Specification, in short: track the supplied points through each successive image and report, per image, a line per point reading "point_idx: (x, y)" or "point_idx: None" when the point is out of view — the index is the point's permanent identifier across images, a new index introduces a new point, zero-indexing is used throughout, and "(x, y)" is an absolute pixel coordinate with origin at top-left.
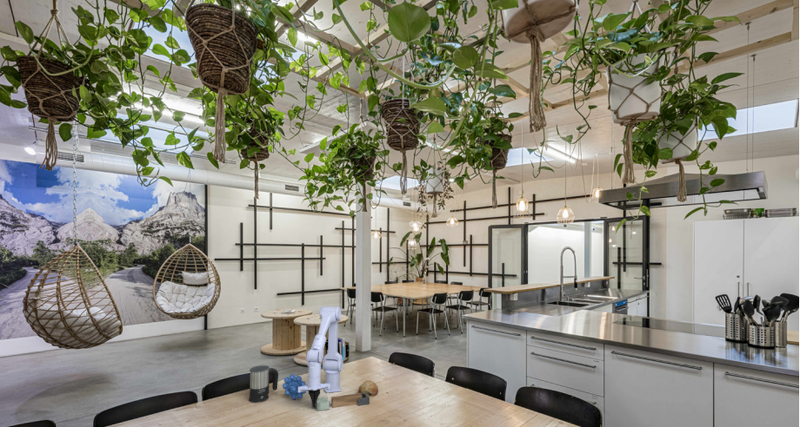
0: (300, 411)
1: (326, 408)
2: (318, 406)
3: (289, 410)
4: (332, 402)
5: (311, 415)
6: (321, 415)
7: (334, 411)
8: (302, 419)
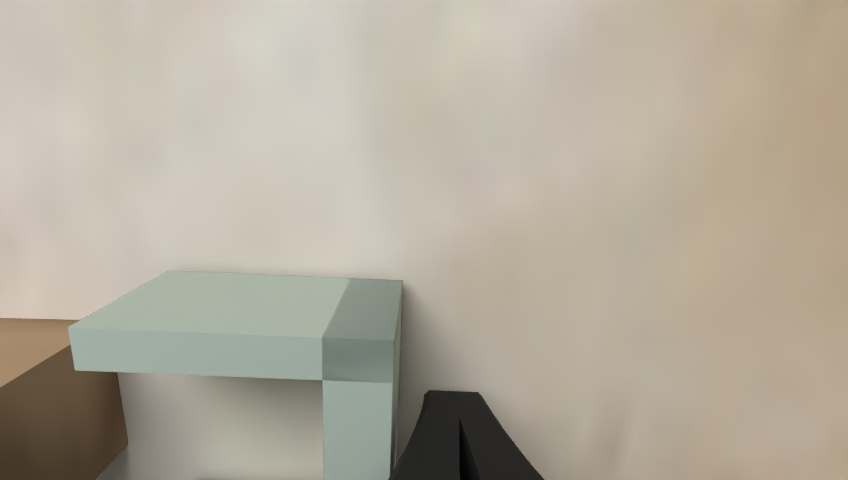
0: (687, 375)
1: (214, 279)
2: (372, 311)
3: (843, 470)
4: (33, 394)
5: (540, 133)
6: (348, 56)
7: (72, 153)
8: (752, 4)
